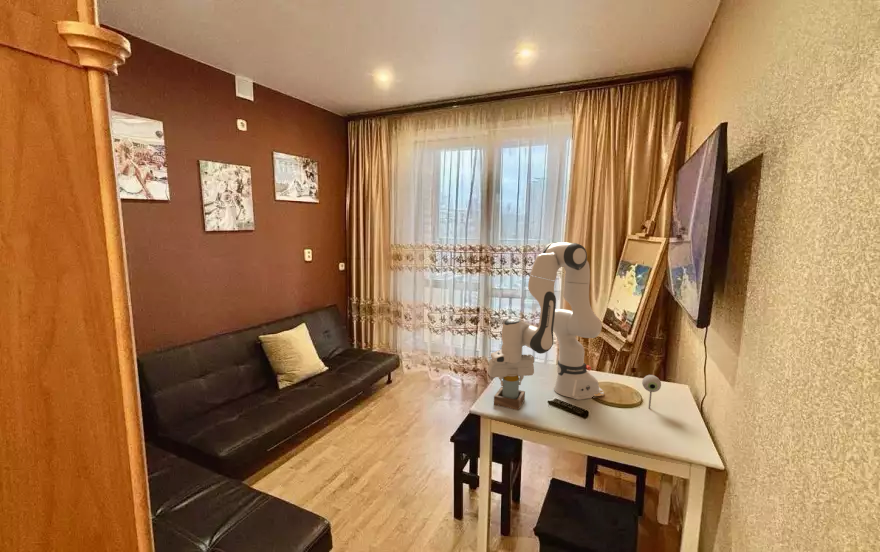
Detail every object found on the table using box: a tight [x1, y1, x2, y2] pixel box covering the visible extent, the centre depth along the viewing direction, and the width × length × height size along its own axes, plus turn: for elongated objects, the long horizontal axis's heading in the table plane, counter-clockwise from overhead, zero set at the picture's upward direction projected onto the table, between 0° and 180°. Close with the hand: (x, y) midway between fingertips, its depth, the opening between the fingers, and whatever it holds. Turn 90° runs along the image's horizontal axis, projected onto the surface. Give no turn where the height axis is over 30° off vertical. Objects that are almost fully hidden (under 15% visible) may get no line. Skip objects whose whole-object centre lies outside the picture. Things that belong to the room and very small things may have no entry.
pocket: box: [493, 386, 526, 411], centre depth 170 cm, size 11×11×4 cm
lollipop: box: [641, 374, 662, 410], centre depth 164 cm, size 7×7×15 cm
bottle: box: [502, 368, 520, 400], centre depth 169 cm, size 7×7×15 cm
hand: (510, 385), depth 169 cm, fingers closed on bottle, 6 cm apart
